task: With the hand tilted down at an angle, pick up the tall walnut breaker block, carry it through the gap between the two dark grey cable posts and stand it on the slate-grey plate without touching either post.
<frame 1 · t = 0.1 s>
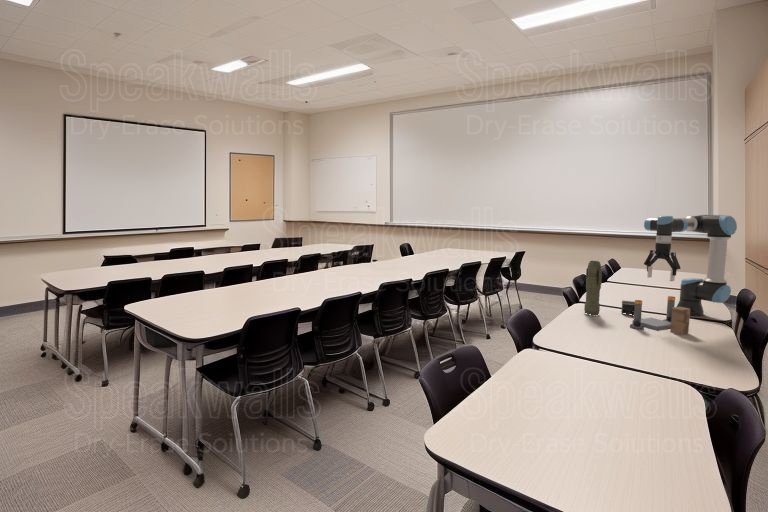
hand: (660, 279, 253), 28 cm above the table, tool pointing down, fingers open, 13 cm apart
breaker block: (679, 332, 244), on the table
cable post 1: (636, 327, 254), on the table
electrical switch: (629, 315, 283), on the table
cable post 2: (669, 322, 264), on the table
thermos: (591, 314, 284), on the table
plate: (653, 325, 259), on the table
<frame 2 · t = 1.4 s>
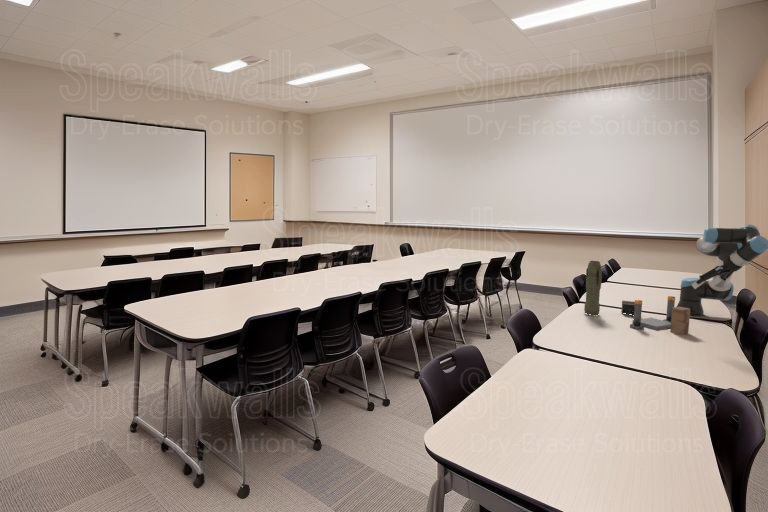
hand: (701, 286, 231), 28 cm above the table, tool tilted 45°, fingers open, 13 cm apart
nothing on the table moved.
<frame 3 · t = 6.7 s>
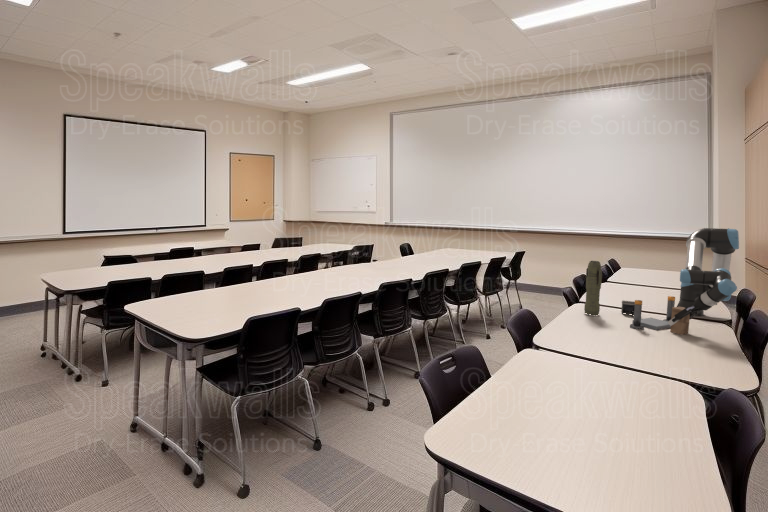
hand: (673, 323, 247), 4 cm above the table, tool tilted 45°, fingers closed on breaker block, 6 cm apart
breaker block: (679, 332, 244), on the table, touching gripper
everything else where it was.
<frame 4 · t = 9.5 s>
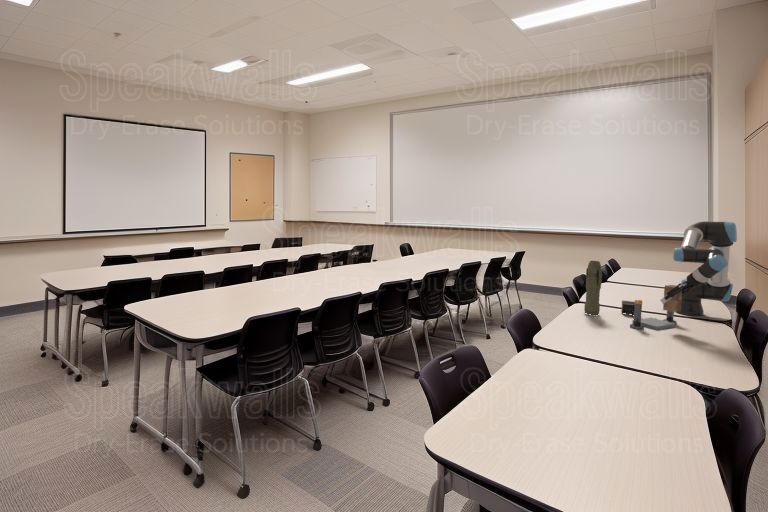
hand: (666, 301, 249), 16 cm above the table, tool tilted 45°, fingers closed on breaker block, 6 cm apart
breaker block: (671, 310, 247), point 12 cm above the table, touching gripper
everything else where it was.
when the fingers open (8 cm above the table, at t = 12.8 s): breaker block drops 1 cm, resting on plate.
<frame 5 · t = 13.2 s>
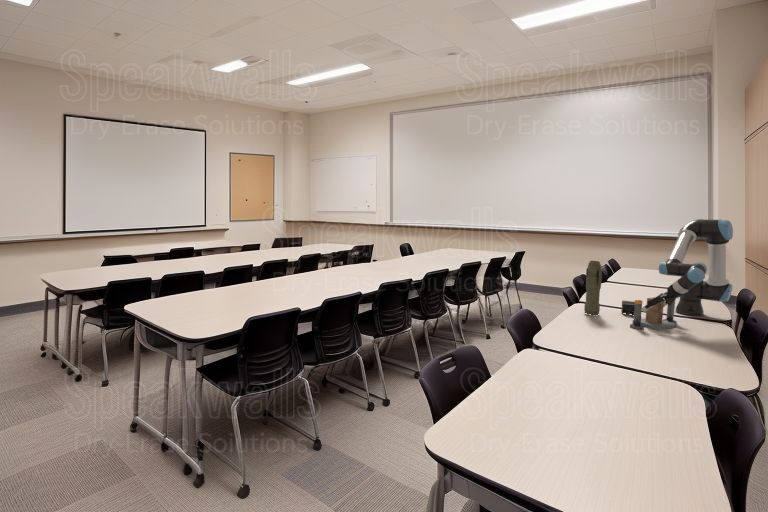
hand: (650, 309, 260), 9 cm above the table, tool tilted 45°, fingers open, 11 cm apart
breaker block: (653, 321, 259), point 2 cm above the table, touching plate
everything else where it was.
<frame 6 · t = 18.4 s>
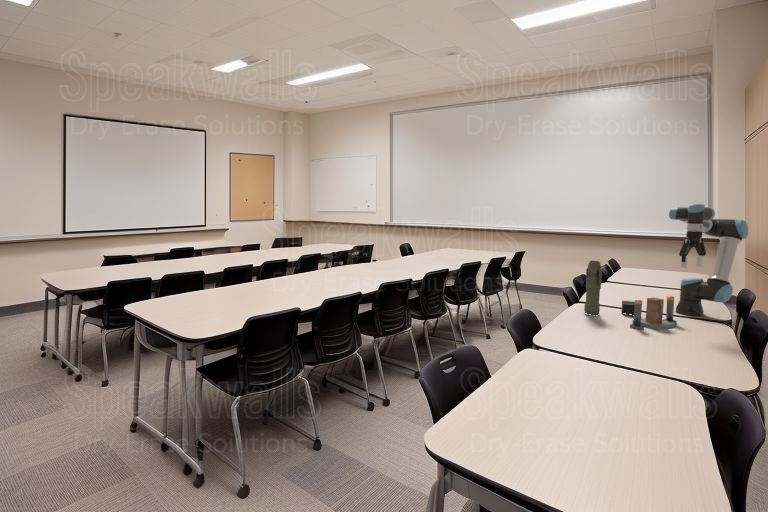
hand: (691, 267, 255), 35 cm above the table, tool pointing down, fingers open, 13 cm apart
nothing on the table moved.
at the end: breaker block inside the target area on the plate (0.0 cm from its centre), point 2.0 cm above the plate's base; cable post 2 moved 0.1 cm from its start; cable post 1 moved 0.0 cm from its start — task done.
